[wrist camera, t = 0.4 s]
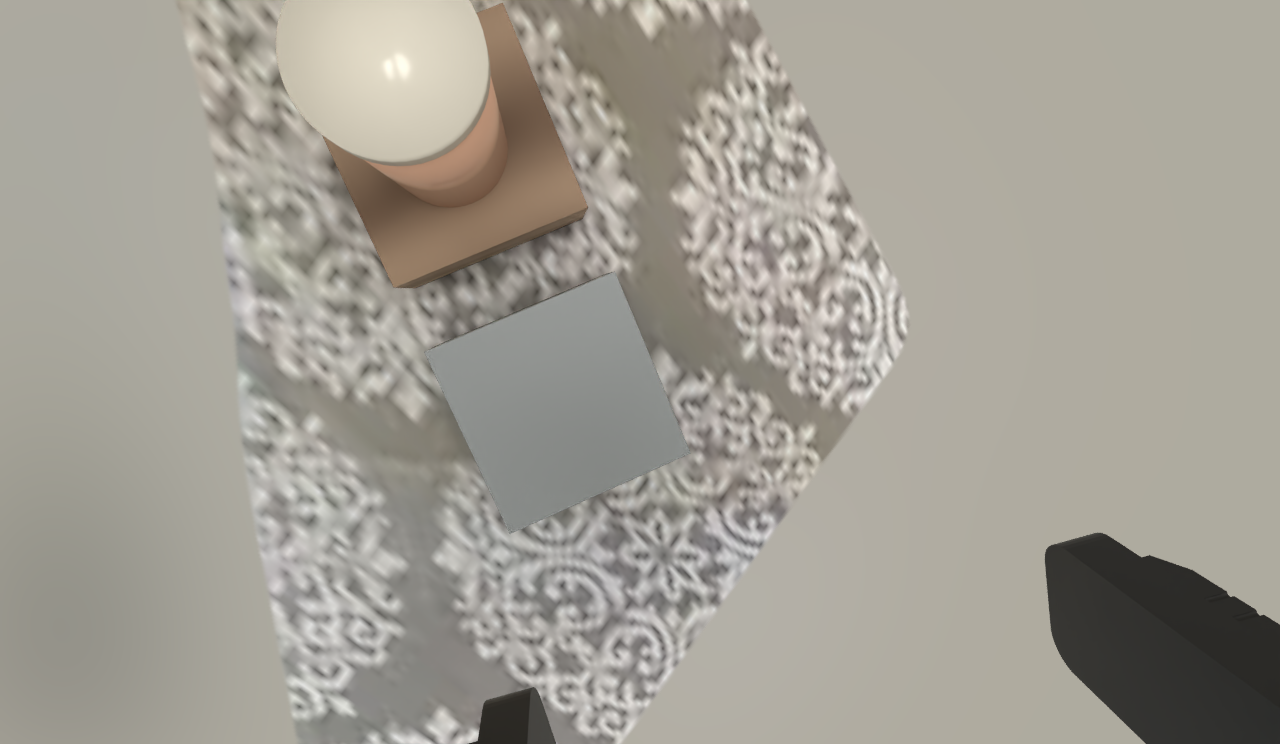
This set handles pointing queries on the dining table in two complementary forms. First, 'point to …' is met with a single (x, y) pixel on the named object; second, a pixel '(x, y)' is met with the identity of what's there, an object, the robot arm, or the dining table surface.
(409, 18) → the canister
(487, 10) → the stand
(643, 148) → the dining table surface
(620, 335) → the stand
